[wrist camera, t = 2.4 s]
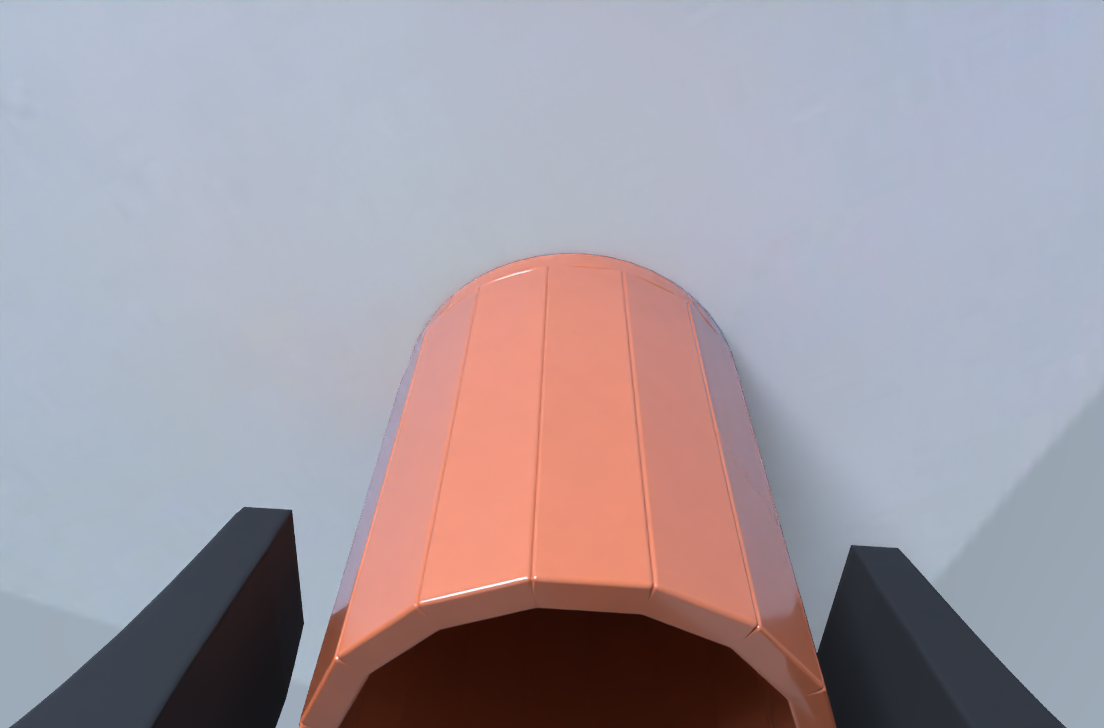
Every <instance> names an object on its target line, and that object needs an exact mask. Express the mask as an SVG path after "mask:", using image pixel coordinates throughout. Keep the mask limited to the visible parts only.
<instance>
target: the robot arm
mask: <svg viewBox="0 0 1104 728" xmlns="http://www.w3.org/2000/svg"><path fill="white" fill-rule="evenodd" d="M303 625H304V620H303V610H302V601H301V591H300V582H299V572H298V563H297V553H296V544H295V534H294V525H293V515H292V510H284V509H268V508H252V507H244V508H242V509H241V510H240V511H239V512H237V513H236V514H235V515H234V516H233V517H232V519H231V520H230V521H229V522H228V523H227V524H226V525H225V526H224V527H223V528H222V529H221V530H220V531H219V532H218V533H217V535H216V536H215V537H214V538H213V539H212V540H211V541H210V542H209V543H208V544H207V545H206V546H205V547H204V548H203V549H202V551H201V552H200V553H199V554H198V555H197V556H196V557H195V558H194V559H193V560H192V561H191V562H190V563H189V564H188V565H187V566H186V567H185V568H184V569H183V570H182V571H181V572H180V573H179V575H178V576H177V577H176V578H175V579H174V580H173V581H172V582H171V583H170V584H169V585H168V586H167V587H166V588H165V589H164V590H163V591H162V592H161V593H160V594H159V595H158V596H157V597H156V598H155V599H154V600H153V601H152V602H151V603H150V604H149V605H148V606H146V607H145V608H144V609H143V610H142V611H141V612H140V613H139V614H138V615H137V616H136V617H135V618H134V619H133V620H132V621H131V622H130V623H129V624H128V625H127V626H126V627H125V628H124V629H123V630H122V631H121V632H120V633H119V634H118V635H117V636H116V637H114V638H113V639H112V640H111V641H110V642H109V643H108V644H107V645H106V646H105V647H103V648H102V649H101V650H100V651H99V652H98V653H97V654H96V655H94V656H93V657H92V658H91V659H90V660H89V661H88V662H87V663H86V664H84V665H83V666H82V667H81V668H80V669H79V670H78V671H77V672H76V673H74V674H73V675H72V676H71V677H70V678H69V679H68V680H67V681H65V683H63V684H62V685H61V686H60V687H59V688H57V689H56V690H55V691H54V692H53V693H51V694H50V695H49V696H48V697H47V698H45V699H44V700H43V701H42V702H41V703H40V704H38V705H37V706H36V707H35V708H33V709H32V710H31V711H30V712H28V713H27V714H26V715H25V716H24V717H22V718H21V719H20V720H19V721H18V722H16V723H15V724H13V725H12V726H11V727H10V728H275V727H276V725H277V722H278V719H279V717H280V714H281V711H282V708H283V705H284V702H285V699H286V696H287V692H288V688H289V684H290V680H291V676H292V672H293V668H294V664H295V660H296V655H297V651H298V647H299V642H300V638H301V634H302V629H303ZM817 656H818V660H819V663H820V667H821V670H822V674H823V677H824V681H825V684H826V688H827V691H828V695H829V699H830V702H831V706H832V710H833V713H834V717H835V721H836V724H837V728H1066V727H1065V726H1064V725H1063V724H1062V723H1061V722H1060V721H1059V720H1057V718H1056V717H1054V716H1053V715H1052V714H1051V713H1050V712H1049V711H1048V710H1047V709H1046V708H1045V707H1044V706H1043V705H1042V704H1041V703H1040V702H1039V701H1038V700H1037V699H1036V698H1035V697H1034V696H1033V695H1032V694H1031V693H1030V691H1028V689H1027V688H1026V687H1024V685H1023V684H1022V683H1021V682H1020V681H1019V680H1018V679H1017V678H1016V677H1015V676H1014V675H1013V674H1012V673H1011V672H1010V671H1009V670H1008V669H1007V668H1006V667H1005V665H1004V664H1003V663H1001V661H1000V660H999V659H998V658H997V657H996V656H995V655H994V654H993V653H992V652H991V651H990V650H989V648H988V647H987V646H986V645H985V644H984V643H983V642H982V641H981V640H980V639H979V638H978V636H977V635H976V634H975V633H974V632H973V631H972V630H971V629H970V628H969V627H968V625H967V624H966V623H965V622H964V621H963V620H962V619H961V618H960V616H959V615H958V614H957V613H956V612H955V611H954V610H953V609H952V608H951V606H950V605H949V604H948V603H947V602H946V601H945V600H944V599H943V598H942V596H941V595H940V594H939V593H938V592H937V591H936V590H935V588H934V587H933V586H932V585H931V584H930V583H929V582H928V581H927V579H926V578H925V577H924V576H923V575H922V574H921V573H920V572H919V570H918V569H917V568H916V567H915V566H914V565H913V564H912V563H911V562H910V560H909V559H908V558H907V557H906V556H905V555H904V554H903V553H902V552H901V551H900V550H899V549H898V548H887V547H871V546H855V545H851V548H850V551H849V554H848V557H847V560H846V563H845V567H844V570H843V573H842V576H841V579H840V582H839V586H838V589H837V592H836V595H835V598H834V601H833V605H832V608H831V611H830V614H829V617H828V620H827V624H826V627H825V630H824V633H823V636H822V640H821V643H820V646H819V649H818V652H817Z"/></svg>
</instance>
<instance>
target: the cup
mask: <svg viewBox="0 0 1104 728" xmlns="http://www.w3.org/2000/svg"><path fill="white" fill-rule="evenodd" d="M299 726H300V728H837V724H836V721H835V717H834V713H833V710H832V706H831V702H830V699H829V695H828V691H827V688H826V684H825V681H824V677H823V674H822V670H821V667H820V663H819V660H818V656H817V652H816V649H815V645H814V642H813V638H812V635H811V631H810V628H809V624H808V621H807V617H806V614H805V610H804V607H803V603H802V600H801V596H800V592H799V589H798V585H797V582H796V578H795V575H794V571H793V568H792V564H791V561H790V557H789V554H788V550H787V547H786V543H785V539H784V536H783V532H782V529H781V525H780V522H779V518H778V515H777V511H776V508H775V504H774V501H773V497H772V494H771V490H770V487H769V483H768V479H767V476H766V472H765V469H764V465H763V462H762V458H761V455H760V451H759V448H758V444H757V441H756V437H755V434H754V430H753V427H752V423H751V419H750V416H749V412H748V409H747V405H746V402H745V398H744V395H743V391H742V388H741V384H740V381H739V377H738V374H737V370H736V366H735V363H734V359H733V356H732V352H731V350H730V349H729V346H728V344H727V342H726V340H725V338H724V336H723V335H722V333H721V331H720V329H719V327H718V326H717V324H716V323H715V322H714V320H713V319H712V318H711V317H710V315H709V314H708V313H707V311H706V310H705V309H704V308H703V307H702V306H701V305H700V304H699V303H698V302H697V301H696V300H695V299H694V298H693V297H692V296H691V295H689V294H688V293H687V292H685V291H684V290H683V289H681V288H680V287H679V286H677V285H676V284H675V283H673V282H672V281H670V280H668V279H666V278H664V277H662V276H661V275H659V274H657V273H655V272H653V271H651V270H648V269H646V268H643V267H641V266H638V265H636V264H633V263H630V262H626V261H622V260H619V259H615V258H611V257H605V256H598V255H590V254H553V255H544V256H537V257H532V258H528V259H524V260H520V261H515V262H513V263H510V264H507V265H504V266H502V267H499V268H496V269H494V270H492V271H490V272H488V273H486V274H484V275H482V276H480V277H478V278H476V279H474V280H473V281H471V282H470V283H468V284H467V285H466V286H464V287H463V288H461V289H460V290H458V291H457V292H456V293H454V294H453V295H452V296H451V297H450V298H449V299H448V300H447V301H446V302H445V303H444V304H443V305H442V306H441V307H440V308H439V309H438V310H437V311H436V313H435V314H434V315H433V316H432V318H431V319H430V320H429V321H428V323H427V324H426V326H425V328H424V329H423V331H422V333H421V334H420V336H419V338H418V340H417V342H416V345H415V347H414V350H413V352H412V355H411V357H410V361H409V364H408V366H407V368H406V370H405V373H404V375H403V377H402V379H401V382H400V385H399V388H398V392H397V395H396V398H395V402H394V405H393V409H392V412H391V415H390V419H389V422H388V425H387V429H386V432H385V435H384V439H383V442H382V446H381V449H380V452H379V456H378V459H377V462H376V466H375V469H374V472H373V476H372V479H371V483H370V486H369V489H368V493H367V496H366V499H365V503H364V506H363V509H362V513H361V516H360V520H359V523H358V526H357V530H356V533H355V536H354V540H353V543H352V547H351V550H350V553H349V557H348V560H347V563H346V567H345V570H344V573H343V577H342V580H341V584H340V587H339V590H338V594H337V597H336V600H335V604H334V607H333V610H332V614H331V617H330V621H329V624H328V627H327V631H326V634H325V637H324V641H323V644H322V647H321V651H320V654H319V658H318V661H317V664H316V668H315V671H314V674H313V678H312V681H311V684H310V688H309V691H308V695H307V698H306V701H305V705H304V708H303V712H302V715H301V720H300V724H299Z"/></svg>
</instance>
